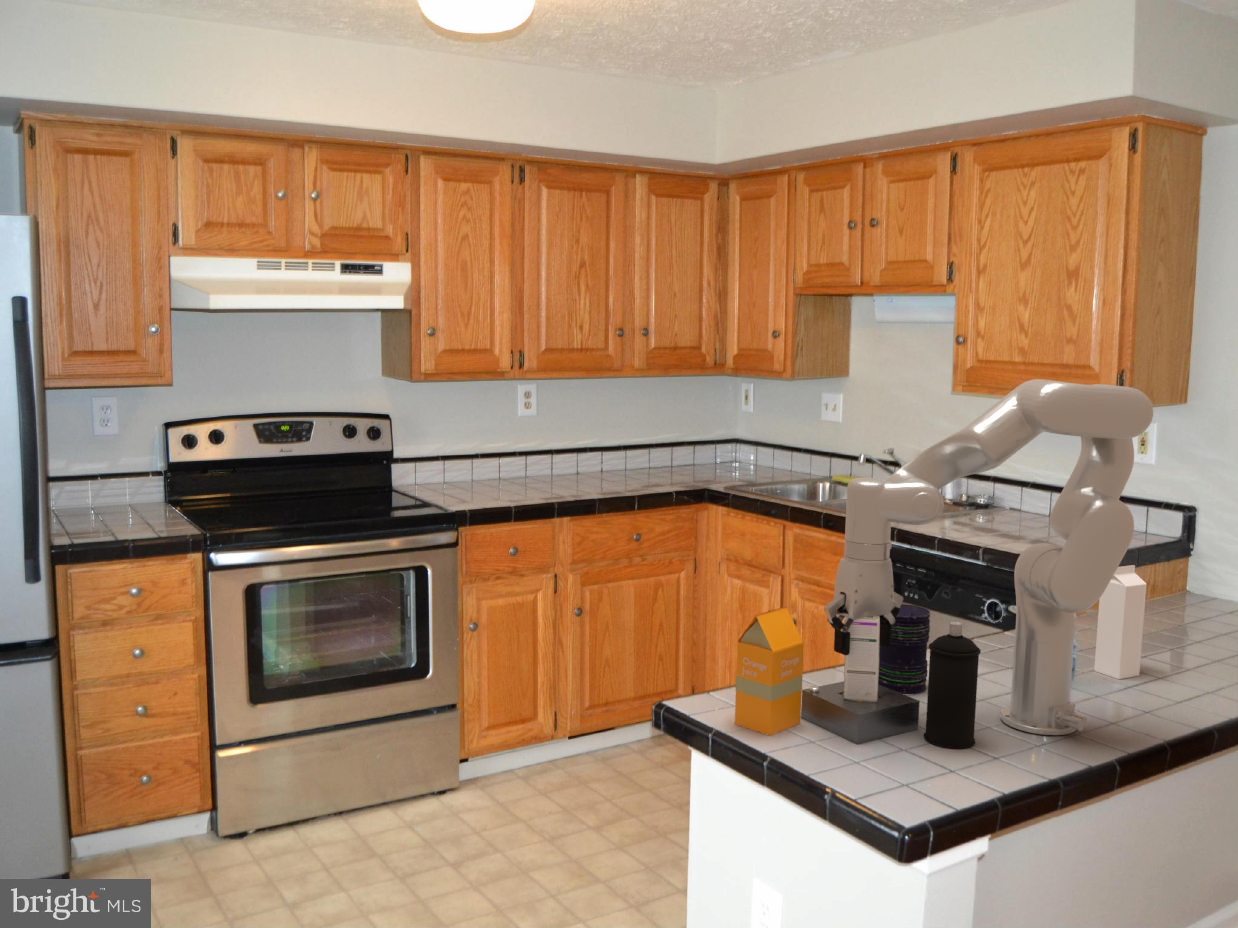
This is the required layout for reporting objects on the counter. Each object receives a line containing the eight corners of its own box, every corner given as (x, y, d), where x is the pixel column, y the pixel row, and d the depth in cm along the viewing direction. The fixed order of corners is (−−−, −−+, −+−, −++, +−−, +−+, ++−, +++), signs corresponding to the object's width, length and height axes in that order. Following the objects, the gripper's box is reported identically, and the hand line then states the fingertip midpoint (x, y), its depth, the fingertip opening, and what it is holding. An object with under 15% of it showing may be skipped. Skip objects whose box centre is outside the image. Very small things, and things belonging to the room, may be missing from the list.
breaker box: (918, 729, 185) (919, 697, 184) (857, 744, 178) (858, 711, 177) (860, 704, 197) (861, 674, 196) (801, 717, 190) (802, 686, 189)
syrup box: (877, 702, 183) (882, 619, 181) (842, 699, 184) (846, 616, 183) (877, 691, 189) (881, 610, 187) (842, 688, 190) (846, 608, 188)
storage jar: (863, 680, 211) (867, 605, 209) (907, 676, 214) (911, 602, 212) (891, 697, 201) (895, 618, 199) (937, 692, 204) (941, 615, 202)
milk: (1093, 671, 219) (1100, 564, 216) (1114, 667, 222) (1121, 561, 219) (1119, 680, 214) (1127, 570, 211) (1140, 675, 216) (1148, 567, 214)
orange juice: (801, 723, 187) (805, 610, 184) (770, 736, 181) (774, 619, 178) (764, 711, 192) (768, 601, 190) (733, 723, 186) (737, 610, 184)
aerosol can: (968, 753, 175) (975, 632, 172) (917, 742, 179) (923, 624, 177) (980, 737, 182) (987, 621, 179) (931, 727, 186) (937, 614, 184)
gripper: (888, 542, 191) (883, 637, 193) (813, 551, 182) (809, 650, 184) (920, 550, 185) (914, 648, 187) (843, 560, 176) (839, 662, 178)
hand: (862, 649), depth 186 cm, fingers open, 9 cm apart
